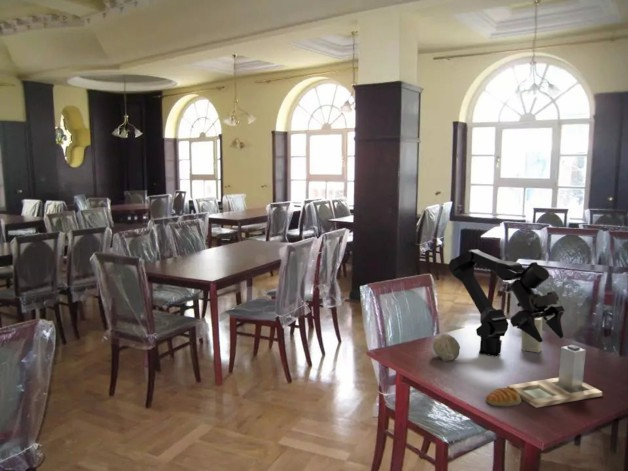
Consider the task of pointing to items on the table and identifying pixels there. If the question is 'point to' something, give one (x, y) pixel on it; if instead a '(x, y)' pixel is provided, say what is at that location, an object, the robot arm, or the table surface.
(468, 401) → the table surface
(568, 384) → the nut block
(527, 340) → the skincare box
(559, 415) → the table surface
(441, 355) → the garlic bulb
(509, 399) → the pastry
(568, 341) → the table surface
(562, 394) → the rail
